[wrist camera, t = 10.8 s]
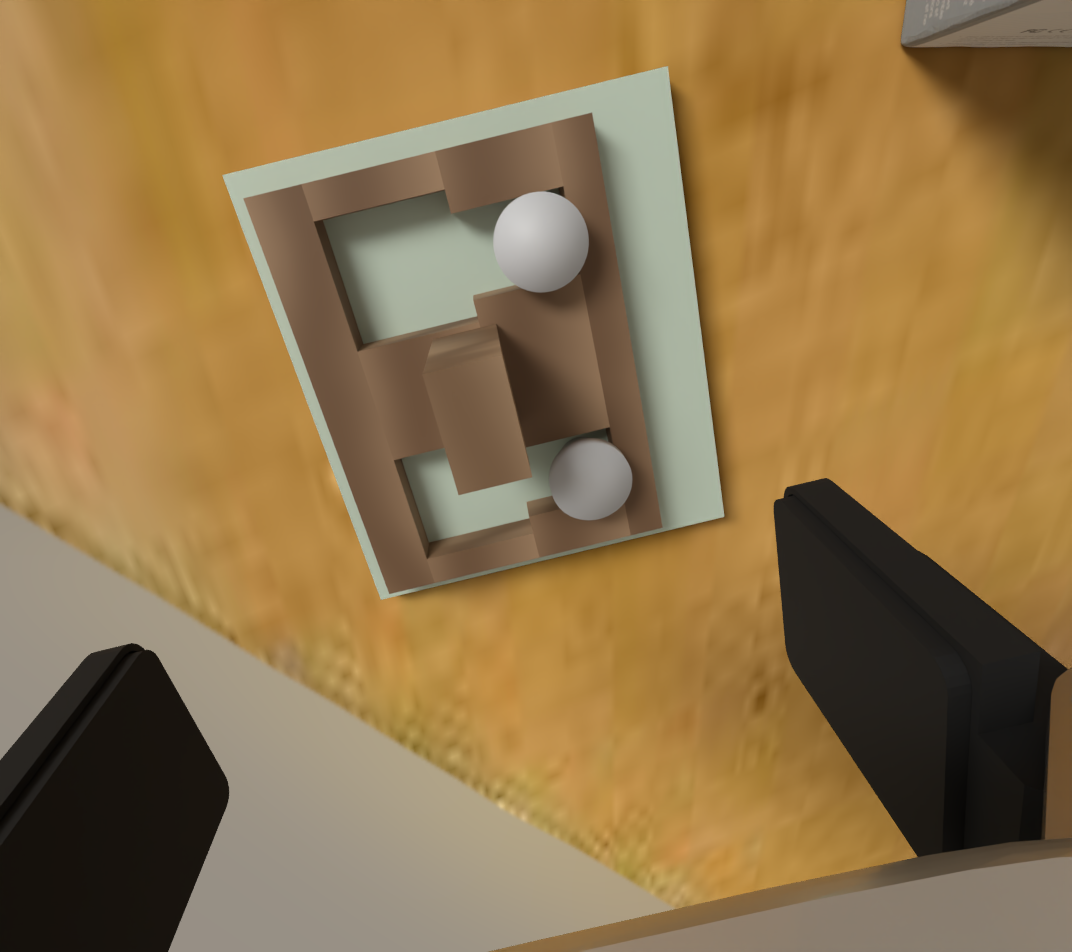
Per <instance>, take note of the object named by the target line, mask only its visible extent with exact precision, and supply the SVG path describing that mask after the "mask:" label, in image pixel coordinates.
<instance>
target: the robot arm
mask: <svg viewBox="0 0 1072 952" xmlns="http://www.w3.org/2000/svg"><path fill="white" fill-rule="evenodd" d="M774 519H775V531H776V542H777V554H778V565H779V577H780V588H781V600H782V611H783V623H784V634H785V645H786V651H787V655H788V658H789V661H790V663H791V665H792V668H793V669H794V671H795V673H796V674H797V676H798V677H799V679H800V680H801V682H802V683H803V685H804V686H805V688H806V689H807V691H808V692H809V694H810V695H811V697H812V698H813V700H814V701H815V703H816V704H817V706H818V707H819V709H820V710H821V712H822V713H823V715H824V716H825V718H826V719H827V721H828V722H829V724H830V725H831V727H832V728H833V730H834V731H835V733H836V734H837V736H838V737H839V739H840V740H841V742H842V743H843V745H844V746H845V748H846V749H847V751H848V752H849V754H850V755H851V757H852V759H853V760H854V762H855V763H856V765H857V766H858V768H859V769H860V771H861V772H862V774H863V775H864V777H865V778H866V780H867V781H868V783H869V784H870V786H871V787H872V789H873V790H874V792H875V793H876V795H877V796H878V798H879V799H880V801H881V802H882V804H883V805H884V807H885V808H886V810H887V811H888V813H889V814H890V816H891V817H892V819H893V820H894V822H895V823H896V825H897V826H898V828H899V829H900V831H901V832H902V834H903V835H904V837H905V838H906V840H907V841H908V843H909V844H910V846H911V847H912V849H913V850H914V852H915V853H916V855H917V856H918V857H917V858H912V859H907V860H902V861H898V862H893V863H888V864H883V865H878V866H873V867H869V868H864V869H859V870H854V871H849V872H844V873H839V874H835V875H830V876H825V877H820V878H815V879H810V880H806V881H801V882H796V883H791V884H786V885H781V886H777V887H772V888H767V889H763V890H759V891H754V892H750V893H745V894H741V895H736V896H732V897H728V898H723V899H719V900H714V901H710V902H705V903H701V904H696V905H692V906H688V907H683V908H679V909H674V910H670V911H665V912H661V913H657V914H652V915H648V916H643V917H639V918H635V919H630V920H626V921H621V922H617V923H613V924H608V925H603V926H599V927H595V928H590V929H586V930H581V931H577V932H573V933H568V934H564V935H559V936H555V937H550V938H546V939H541V940H537V941H533V942H528V943H524V944H520V945H516V946H511V947H507V948H502V949H498V950H494V951H489V952H1072V668H1069V669H1067V668H1066V667H1064V666H1063V665H1062V664H1061V663H1060V662H1058V661H1057V660H1056V659H1055V658H1053V657H1052V656H1051V655H1050V654H1048V653H1047V652H1046V651H1045V650H1043V649H1042V648H1041V647H1040V646H1038V645H1037V644H1036V643H1035V642H1033V641H1032V640H1031V639H1030V638H1029V637H1027V636H1026V635H1025V634H1024V633H1022V632H1021V631H1020V630H1019V629H1017V628H1016V627H1015V626H1014V625H1012V624H1011V623H1010V622H1009V621H1007V620H1006V619H1005V618H1004V617H1003V616H1001V615H1000V614H999V613H998V612H996V611H995V610H994V609H993V608H991V607H990V606H989V605H988V604H986V603H985V602H984V601H983V600H981V599H980V598H979V597H978V596H976V595H975V594H974V593H973V592H972V591H970V590H969V589H968V588H967V587H965V586H964V585H963V584H962V583H960V582H959V581H958V580H957V579H955V578H954V577H953V576H952V575H950V574H949V573H948V572H947V571H946V570H944V569H943V568H942V567H941V566H939V565H938V564H937V563H936V562H934V561H933V560H932V559H931V558H929V557H928V556H926V555H925V554H923V553H921V552H920V551H917V550H916V549H915V548H914V547H912V546H911V545H910V544H909V543H907V542H906V541H905V540H904V539H902V538H901V537H900V536H899V535H898V534H896V533H895V532H894V531H893V530H891V529H890V528H889V527H888V526H887V525H885V524H884V523H883V522H882V521H880V520H879V519H878V518H877V517H875V516H874V515H873V514H872V513H871V512H869V511H868V510H867V509H866V508H864V507H863V506H862V505H861V504H859V503H858V502H857V501H856V500H855V499H853V498H852V497H851V496H850V495H848V494H847V493H846V492H845V491H843V490H842V489H841V488H840V487H839V486H837V485H836V484H835V483H834V482H832V481H831V480H829V479H827V478H824V479H819V480H815V481H811V482H807V483H803V484H798V485H794V486H790V487H787V488H786V490H785V493H784V498H782V499H778V500H776V501H775V502H774ZM228 799H229V786H228V781H227V779H226V777H225V775H224V773H223V771H222V769H221V767H220V766H219V764H218V762H217V761H216V759H215V757H214V755H213V753H212V752H211V750H210V749H209V746H208V745H207V743H206V741H205V739H204V737H203V736H202V734H201V732H200V730H199V729H198V727H197V725H196V724H195V722H194V720H193V718H192V716H191V715H190V713H189V711H188V709H187V707H186V706H185V704H184V702H183V701H182V699H181V697H180V695H179V693H178V692H177V690H176V688H175V686H174V685H173V683H172V681H171V679H170V678H169V676H168V674H167V672H166V670H165V669H164V667H163V665H162V663H161V662H160V660H159V658H158V657H157V655H156V654H155V653H154V652H152V651H151V650H144V648H142V647H141V646H139V645H138V644H133V643H131V644H127V645H123V646H119V647H115V648H110V649H106V650H102V651H98V652H94V653H91V654H90V655H89V656H87V657H86V658H85V659H84V660H83V662H82V663H81V664H80V665H79V666H78V668H77V669H76V670H75V671H74V672H73V674H72V675H71V676H70V677H69V679H68V680H67V681H66V682H65V683H64V684H63V686H62V687H61V688H60V689H59V690H58V692H57V693H56V694H55V696H53V698H52V699H51V700H50V701H49V703H48V704H47V705H46V706H45V707H44V708H43V710H42V711H41V712H40V713H39V714H38V716H37V717H36V718H35V719H34V720H33V722H32V723H31V724H30V725H29V727H28V728H27V729H26V730H25V731H24V732H23V734H22V735H21V736H20V737H19V738H18V740H17V741H16V742H15V743H14V744H13V746H12V747H11V748H10V749H9V750H8V752H7V753H6V754H5V755H4V756H3V758H2V759H1V760H0V952H168V950H169V948H170V945H171V943H172V940H173V938H174V935H175V933H176V930H177V928H178V925H179V923H180V921H181V918H182V916H183V913H184V911H185V908H186V906H187V903H188V901H189V898H190V896H191V893H192V891H193V888H194V886H195V883H196V881H197V878H198V876H199V874H200V871H201V868H202V866H203V864H204V861H205V859H206V856H207V854H208V851H209V848H210V846H211V844H212V841H213V839H214V836H215V834H216V831H217V829H218V826H219V824H220V821H221V819H222V816H223V814H224V812H225V809H226V807H227V803H228Z"/></svg>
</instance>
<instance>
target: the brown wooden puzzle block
mask: <svg viewBox="0 0 1072 952" xmlns="http://www.w3.org/2000/svg"><path fill="white" fill-rule="evenodd" d="M554 188H559V193H560V196H562V197H564V198H566V199H567V200H569V201H570V202H571V203H572V204H573V205H574V206H575V207H576V208H577V209H578V210H579V212H580V213H581V215H582V217H583V219H584V221H585V223H586V226H587V230H588V237H589V247H588V253H587V257H586V260H585V263H584V265H583V267H582V269H581V270H580V272H579V273H578V274H577V276H576V277H575V278H574V279H573V280H572V281H571V282H569V283H568V284H567V285H565V286H563V287H562V288H559V289H557V290H554V291H550V292H541V293H539V292H532V291H527V290H525V289H522V288H520V287H518V286H517V285H513V286H509V287H505V288H501V289H497V290H492V291H488V292H484V293H480V294H476V295H473V301H474V305H475V309H476V313H477V316H476V317H472V318H468V319H464V320H460V321H455V322H451V323H447V324H443V325H439V326H435V327H431V328H427V329H423V330H419V331H415V332H411V333H406V334H402V335H398V336H394V337H390V338H386V339H382V340H378V341H374V342H370V343H366V344H363V341H362V338H361V335H360V332H359V329H358V326H357V323H356V319H355V316H354V313H353V310H352V307H351V304H350V301H349V298H348V295H347V292H346V289H345V286H344V283H343V280H342V277H341V274H340V271H339V268H338V265H337V262H336V259H335V256H334V253H333V250H332V247H331V244H330V241H329V238H328V234H327V231H326V228H325V225H324V222H323V220H327V219H331V218H335V217H339V216H343V215H347V214H351V213H355V212H359V211H363V210H367V209H372V208H376V207H380V206H384V205H388V204H392V203H396V202H400V201H404V200H408V199H412V198H416V197H420V196H424V195H428V194H432V193H437V192H441V191H445V193H446V196H447V200H448V204H449V208H450V212H451V214H453V213H457V212H461V211H465V210H469V209H473V208H477V207H481V206H485V205H489V204H493V203H497V202H501V201H505V200H510V199H514V198H518V197H520V196H522V195H525V194H528V193H532V192H542V191H546V190H550V189H554ZM243 199H244V202H245V205H246V207H247V210H248V213H249V215H250V218H251V221H252V223H253V226H254V229H255V232H256V234H257V237H258V240H259V242H260V245H261V248H262V251H263V253H264V256H265V259H266V261H267V264H268V267H269V270H270V272H271V275H272V278H273V280H274V283H275V286H276V289H277V291H278V294H279V297H280V299H281V302H282V305H283V307H284V310H285V313H286V316H287V318H288V321H289V324H290V326H291V329H292V332H293V335H294V337H295V340H296V343H297V345H298V348H299V351H300V354H301V356H302V359H303V362H304V364H305V367H306V370H307V373H308V375H309V378H310V381H311V383H312V386H313V389H314V391H315V394H316V397H317V400H318V402H319V405H320V408H321V410H322V413H323V416H324V419H325V421H326V424H327V427H328V429H329V432H330V435H331V438H332V440H333V443H334V446H335V448H336V451H337V454H338V457H339V459H340V462H341V465H342V467H343V470H344V473H345V475H346V478H347V481H348V484H349V486H350V489H351V492H352V494H353V497H354V500H355V503H356V505H357V508H358V511H359V513H360V516H361V519H362V522H363V524H364V527H365V530H366V532H367V535H368V538H369V541H370V543H371V546H372V549H373V551H374V554H375V557H376V559H377V562H378V565H379V568H380V570H381V573H382V576H383V578H384V581H385V584H386V587H387V589H388V592H389V594H392V593H396V592H400V591H404V590H409V589H413V588H417V587H421V586H425V585H429V584H433V583H437V582H442V581H446V580H450V579H454V578H458V577H462V576H466V575H470V574H474V573H479V572H483V571H487V570H491V569H495V568H499V567H503V566H507V565H511V564H516V563H520V562H524V561H528V560H532V559H536V558H540V557H544V556H549V555H553V554H557V553H561V552H565V551H569V550H573V549H577V548H581V547H586V546H590V545H594V544H598V543H602V542H606V541H610V540H614V539H618V538H623V537H627V536H631V535H635V534H639V533H643V532H647V531H651V530H656V529H660V528H663V527H662V521H661V515H660V509H659V503H658V497H657V491H656V485H655V480H654V474H653V468H652V462H651V456H650V450H649V444H648V438H647V433H646V427H645V421H644V415H643V409H642V403H641V397H640V391H639V386H638V380H637V374H636V368H635V362H634V356H633V350H632V344H631V338H630V333H629V327H628V321H627V315H626V309H625V303H624V297H623V291H622V286H621V280H620V274H619V268H618V262H617V256H616V250H615V244H614V238H613V233H612V227H611V221H610V215H609V209H608V203H607V197H606V191H605V186H604V180H603V174H602V168H601V162H600V156H599V150H598V144H597V138H596V133H595V127H594V121H593V115H592V113H588V114H584V115H579V116H575V117H571V118H567V119H563V120H559V121H555V122H551V123H547V124H543V125H539V126H535V127H531V128H527V129H523V130H519V131H515V132H511V133H507V134H502V135H498V136H494V137H490V138H486V139H482V140H478V141H474V142H470V143H466V144H462V145H458V146H454V147H450V148H446V149H442V150H438V151H434V152H430V153H425V154H421V155H417V156H413V157H409V158H405V159H401V160H397V161H393V162H389V163H385V164H381V165H377V166H373V167H369V168H365V169H361V170H357V171H352V172H348V173H344V174H340V175H336V176H332V177H328V178H324V179H320V180H316V181H312V182H308V183H304V184H300V185H296V186H292V187H288V188H284V189H280V190H275V191H271V192H267V193H263V194H259V195H255V196H251V197H247V198H243ZM604 428H606V433H607V439H608V442H610V443H612V444H613V445H615V446H616V447H617V448H618V449H619V450H620V451H621V452H622V454H623V455H624V457H625V459H626V460H627V462H628V464H629V466H630V468H631V472H632V488H631V491H630V494H629V496H628V498H627V500H626V501H625V503H624V504H623V505H622V506H621V507H620V508H619V509H618V510H617V511H615V512H614V513H612V514H611V515H609V516H607V517H604V518H601V519H597V520H581V519H576V518H573V517H571V516H569V515H568V514H566V513H564V512H563V511H562V510H561V509H560V508H559V507H558V506H557V504H556V503H555V501H554V499H553V496H548V497H544V498H540V499H536V500H532V501H528V502H526V503H527V508H528V514H529V518H528V519H524V520H520V521H516V522H511V523H507V524H503V525H499V526H495V527H491V528H487V529H483V530H479V531H474V532H470V533H466V534H462V535H458V536H454V537H450V538H446V539H442V540H437V541H433V542H429V541H428V538H427V535H426V532H425V529H424V526H423V523H422V520H421V517H420V514H419V511H418V508H417V505H416V502H415V499H414V496H413V493H412V489H411V486H410V483H409V480H408V477H407V474H406V471H405V468H404V465H403V462H402V459H401V458H405V457H409V456H413V455H417V454H421V453H425V452H429V451H433V450H437V449H442V448H445V452H446V455H447V458H448V462H449V465H450V468H451V472H452V475H453V478H454V482H455V485H456V488H457V492H458V495H462V494H466V493H470V492H474V491H478V490H482V489H487V488H491V487H495V486H499V485H503V484H507V483H511V482H515V481H519V480H523V479H528V478H532V473H531V468H530V464H529V459H528V455H527V450H526V447H530V446H535V445H539V444H543V443H547V442H551V441H555V440H559V439H563V438H567V437H571V436H576V435H580V434H584V433H588V432H592V431H596V430H600V429H604Z"/></svg>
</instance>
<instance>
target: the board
mask: <svg viewBox="0 0 1072 952" xmlns="http://www.w3.org/2000/svg"><path fill="white" fill-rule="evenodd" d="M588 113H592V115H593V121H594V127H595V133H596V138H597V144H598V150H599V156H600V162H601V168H602V174H603V180H604V186H605V191H606V197H607V203H608V209H609V215H610V221H611V227H612V233H613V238H614V244H615V250H616V256H617V262H618V268H619V274H620V280H621V286H622V291H623V297H624V303H625V309H626V315H627V321H628V327H629V333H630V338H631V344H632V350H633V356H634V362H635V368H636V374H637V380H638V386H639V391H640V397H641V403H642V409H643V415H644V421H645V427H646V433H647V438H648V444H649V450H650V456H651V462H652V468H653V474H654V480H655V485H656V491H657V497H658V503H659V509H660V515H661V521H662V527H663V528H660V529H656V530H651V531H647V532H643V533H639V534H635V535H631V536H627V537H623V538H618V539H614V540H610V541H606V542H602V543H598V544H594V545H590V546H586V547H581V548H577V549H573V550H569V551H565V552H561V553H557V554H553V555H549V556H544V557H540V558H536V559H532V560H528V561H524V562H520V563H516V564H511V565H507V566H503V567H499V568H495V569H491V570H487V571H483V572H479V573H474V574H470V575H466V576H462V577H458V578H454V579H450V580H446V581H442V582H437V583H433V584H429V585H425V586H421V587H417V588H413V589H409V590H404V591H400V592H396V593H392V594H389V592H388V589H387V587H386V584H385V581H384V578H383V576H382V573H381V570H380V568H379V565H378V562H377V559H376V557H375V554H374V551H373V549H372V546H371V543H370V541H369V538H368V535H367V532H366V530H365V527H364V524H363V522H362V519H361V516H360V513H359V511H358V508H357V505H356V503H355V500H354V497H353V494H352V492H351V489H350V486H349V484H348V481H347V478H346V475H345V473H344V470H343V467H342V465H341V462H340V459H339V457H338V454H337V451H336V448H335V446H334V443H333V440H332V438H331V435H330V432H329V429H328V427H327V424H326V421H325V419H324V416H323V413H322V410H321V408H320V405H319V402H318V400H317V397H316V394H315V391H314V389H313V386H312V383H311V381H310V378H309V375H308V373H307V370H306V367H305V364H304V362H303V359H302V356H301V354H300V351H299V348H298V345H297V343H296V340H295V337H294V335H293V332H292V329H291V326H290V324H289V321H288V318H287V316H286V313H285V310H284V307H283V305H282V302H281V299H280V297H279V294H278V291H277V289H276V286H275V283H274V280H273V278H272V275H271V272H270V270H269V267H268V264H267V261H266V259H265V256H264V253H263V251H262V248H261V245H260V242H259V240H258V237H257V234H256V232H255V229H254V226H253V223H252V221H251V218H250V215H249V213H248V210H247V207H246V205H245V202H244V199H243V198H247V197H251V196H255V195H259V194H263V193H267V192H271V191H275V190H280V189H284V188H288V187H292V186H296V185H300V184H304V183H308V182H312V181H316V180H320V179H324V178H328V177H332V176H336V175H340V174H344V173H348V172H352V171H357V170H361V169H365V168H369V167H373V166H377V165H381V164H385V163H389V162H393V161H397V160H401V159H405V158H409V157H413V156H417V155H421V154H425V153H430V152H434V151H438V150H442V149H446V148H450V147H454V146H458V145H462V144H466V143H470V142H474V141H478V140H482V139H486V138H490V137H494V136H498V135H502V134H507V133H511V132H515V131H519V130H523V129H527V128H531V127H535V126H539V125H543V124H547V123H551V122H555V121H559V120H563V119H567V118H571V117H575V116H579V115H584V114H588ZM222 176H223V178H224V181H225V184H226V186H227V189H228V192H229V194H230V197H231V200H232V202H233V205H234V208H235V210H236V213H237V216H238V219H239V221H240V224H241V227H242V229H243V232H244V235H245V237H246V240H247V243H248V245H249V248H250V251H251V253H252V256H253V259H254V261H255V264H256V267H257V269H258V272H259V275H260V277H261V280H262V283H263V285H264V288H265V291H266V293H267V296H268V299H269V301H270V304H271V307H272V309H273V312H274V315H275V317H276V320H277V323H278V325H279V328H280V331H281V333H282V336H283V339H284V341H285V344H286V347H287V350H288V352H289V355H290V358H291V360H292V363H293V366H294V368H295V371H296V374H297V376H298V379H299V382H300V384H301V387H302V390H303V392H304V395H305V398H306V400H307V403H308V406H309V408H310V411H311V414H312V416H313V419H314V422H315V424H316V427H317V430H318V432H319V435H320V438H321V440H322V443H323V446H324V448H325V451H326V454H327V456H328V459H329V462H330V464H331V467H332V470H333V472H334V475H335V478H336V481H337V483H338V486H339V489H340V491H341V494H342V497H343V499H344V502H345V505H346V507H347V510H348V513H349V515H350V518H351V521H352V523H353V526H354V529H355V531H356V534H357V537H358V539H359V542H360V545H361V547H362V550H363V553H364V555H365V558H366V561H367V563H368V566H369V569H370V571H371V574H372V577H373V579H374V582H375V585H376V587H377V590H378V593H379V595H380V598H381V600H382V599H386V598H390V597H394V596H398V595H403V594H407V593H411V592H415V591H419V590H423V589H427V588H432V587H436V586H440V585H444V584H448V583H452V582H456V581H461V580H465V579H469V578H473V577H477V576H481V575H485V574H490V573H494V572H498V571H502V570H506V569H510V568H514V567H519V566H523V565H527V564H531V563H535V562H539V561H543V560H548V559H552V558H556V557H560V556H564V555H568V554H572V553H577V552H581V551H585V550H589V549H593V548H597V547H601V546H606V545H610V544H614V543H618V542H622V541H626V540H630V539H635V538H639V537H643V536H647V535H651V534H655V533H659V532H664V531H668V530H672V529H676V528H680V527H684V526H688V525H693V524H697V523H701V522H705V521H709V520H713V519H717V518H722V517H724V510H723V502H722V494H721V486H720V478H719V470H718V462H717V454H716V446H715V438H714V430H713V423H712V415H711V407H710V399H709V391H708V383H707V375H706V367H705V359H704V351H703V343H702V335H701V327H700V319H699V311H698V303H697V295H696V287H695V280H694V272H693V264H692V256H691V248H690V240H689V232H688V224H687V216H686V208H685V200H684V192H683V184H682V176H681V168H680V160H679V152H678V145H677V137H676V129H675V121H674V113H673V105H672V97H671V89H670V81H669V73H668V66H666V67H662V68H658V69H654V70H650V71H646V72H642V73H638V74H634V75H630V76H625V77H621V78H617V79H613V80H609V81H605V82H601V83H597V84H593V85H589V86H585V87H580V88H576V89H572V90H568V91H564V92H560V93H556V94H552V95H548V96H544V97H540V98H536V99H531V100H527V101H523V102H519V103H515V104H511V105H507V106H503V107H499V108H495V109H491V110H487V111H482V112H478V113H474V114H470V115H466V116H462V117H458V118H454V119H450V120H446V121H442V122H438V123H433V124H429V125H425V126H421V127H417V128H413V129H409V130H405V131H401V132H397V133H393V134H389V135H384V136H380V137H376V138H372V139H368V140H364V141H360V142H356V143H352V144H348V145H344V146H340V147H335V148H331V149H327V150H323V151H319V152H315V153H311V154H307V155H303V156H299V157H295V158H291V159H286V160H282V161H278V162H274V163H270V164H266V165H262V166H258V167H254V168H250V169H246V170H241V171H237V172H233V173H229V174H225V175H222ZM323 222H324V225H325V228H326V231H327V234H328V238H329V241H330V244H331V247H332V250H333V253H334V256H335V259H336V262H337V265H338V268H339V271H340V274H341V277H342V280H343V283H344V286H345V289H346V292H347V295H348V298H349V301H350V304H351V307H352V310H353V313H354V316H355V319H356V323H357V326H358V329H359V332H360V335H361V338H362V341H363V344H366V343H370V342H374V341H378V340H382V339H386V338H390V337H394V336H398V335H402V334H406V333H411V332H415V331H419V330H423V329H427V328H431V327H435V326H439V325H443V324H447V323H451V322H455V321H460V320H464V319H468V318H472V317H476V316H477V313H476V309H475V305H474V301H473V295H476V294H480V293H484V292H488V291H492V290H497V289H501V288H505V287H509V286H513V285H517V286H518V287H520V288H522V289H525V290H527V291H532V292H539V293H541V292H550V291H554V290H557V289H559V288H562V287H563V286H565V285H567V284H568V283H569V282H571V281H572V280H573V279H574V278H575V277H576V276H577V274H578V273H579V272H580V270H581V269H582V267H583V265H584V263H585V260H586V257H587V253H588V247H589V237H588V230H587V226H586V223H585V221H584V219H583V217H582V215H581V213H580V212H579V210H578V209H577V208H576V207H575V206H574V205H573V204H572V203H571V202H570V201H569V200H567V199H566V198H564V197H562V196H560V193H559V188H554V189H550V190H546V191H542V192H532V193H528V194H525V195H522V196H520V197H518V198H514V199H510V200H505V201H501V202H497V203H493V204H489V205H485V206H481V207H477V208H473V209H469V210H465V211H461V212H457V213H453V214H451V212H450V208H449V204H448V200H447V196H446V193H445V191H441V192H437V193H432V194H428V195H424V196H420V197H416V198H412V199H408V200H404V201H400V202H396V203H392V204H388V205H384V206H380V207H376V208H372V209H367V210H363V211H359V212H355V213H351V214H347V215H343V216H339V217H335V218H331V219H327V220H323ZM526 450H527V455H528V459H529V464H530V468H531V473H532V478H528V479H523V480H519V481H515V482H511V483H507V484H503V485H499V486H495V487H491V488H487V489H482V490H478V491H474V492H470V493H466V494H462V495H458V492H457V488H456V485H455V482H454V478H453V475H452V472H451V468H450V465H449V462H448V458H447V455H446V452H445V448H442V449H437V450H433V451H429V452H425V453H421V454H417V455H413V456H409V457H405V458H401V459H402V462H403V465H404V468H405V471H406V474H407V477H408V480H409V483H410V486H411V489H412V493H413V496H414V499H415V502H416V505H417V508H418V511H419V514H420V517H421V520H422V523H423V526H424V529H425V532H426V535H427V538H428V541H429V542H433V541H437V540H442V539H446V538H450V537H454V536H458V535H462V534H466V533H470V532H474V531H479V530H483V529H487V528H491V527H495V526H499V525H503V524H507V523H511V522H516V521H520V520H524V519H528V518H529V514H528V508H527V503H526V502H528V501H532V500H536V499H540V498H544V497H548V496H553V499H554V501H555V503H556V504H557V506H558V507H559V508H560V509H561V510H562V511H563V512H564V513H566V514H568V515H569V516H571V517H573V518H576V519H581V520H597V519H601V518H604V517H607V516H609V515H611V514H612V513H614V512H615V511H617V510H618V509H619V508H620V507H621V506H622V505H623V504H624V503H625V501H626V500H627V498H628V496H629V494H630V491H631V488H632V472H631V468H630V466H629V464H628V462H627V460H626V459H625V457H624V455H623V454H622V452H621V451H620V450H619V449H618V448H617V447H616V446H615V445H613V444H612V443H610V442H608V439H607V433H606V428H604V429H600V430H596V431H592V432H588V433H584V434H580V435H576V436H571V437H567V438H563V439H559V440H555V441H551V442H547V443H543V444H539V445H535V446H530V447H526Z"/></svg>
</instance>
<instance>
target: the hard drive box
mask: <svg viewBox="0 0 1072 952" xmlns="http://www.w3.org/2000/svg"><path fill="white" fill-rule="evenodd" d="M901 44H902V45H904V46H905V47H954V46H965V47H1022V46H1053V47H1072V0H907V1H906V8H905V15H904V22H903V28H902V35H901Z"/></svg>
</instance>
